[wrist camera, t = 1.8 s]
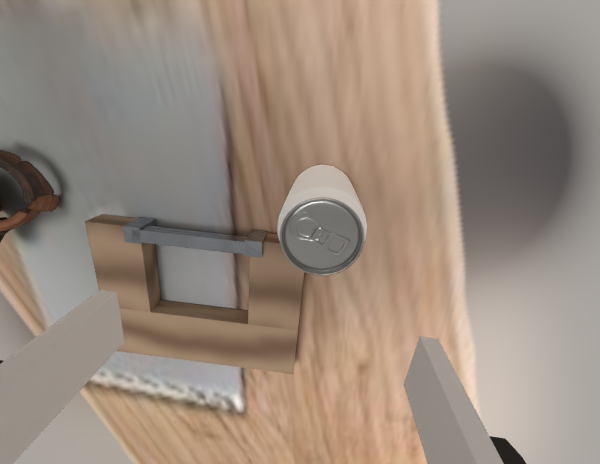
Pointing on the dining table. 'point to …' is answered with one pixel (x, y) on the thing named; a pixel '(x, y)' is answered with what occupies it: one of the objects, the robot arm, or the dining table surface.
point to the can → (322, 222)
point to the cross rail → (193, 238)
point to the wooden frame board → (199, 318)
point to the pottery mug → (26, 191)
